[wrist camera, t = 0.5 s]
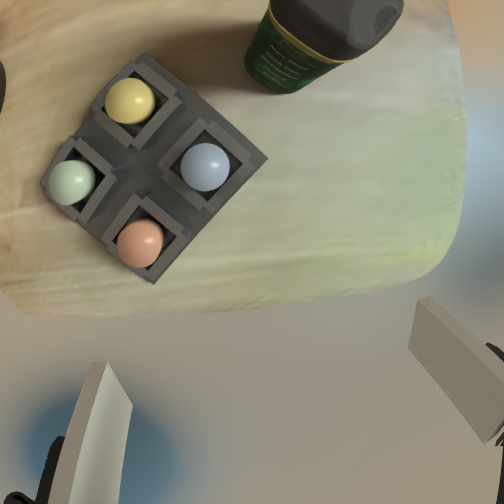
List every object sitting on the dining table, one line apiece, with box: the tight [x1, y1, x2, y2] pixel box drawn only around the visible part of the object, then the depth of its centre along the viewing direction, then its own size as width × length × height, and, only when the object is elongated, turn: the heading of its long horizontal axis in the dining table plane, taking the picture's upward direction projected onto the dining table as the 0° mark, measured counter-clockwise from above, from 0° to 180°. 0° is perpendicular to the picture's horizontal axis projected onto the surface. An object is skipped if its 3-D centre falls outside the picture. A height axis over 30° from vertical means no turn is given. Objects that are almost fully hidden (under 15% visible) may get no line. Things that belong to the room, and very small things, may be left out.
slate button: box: [181, 143, 229, 191], centre depth 27 cm, size 4×4×3 cm
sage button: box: [49, 159, 95, 205], centre depth 25 cm, size 4×4×3 cm
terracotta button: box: [117, 217, 164, 268], centre depth 29 cm, size 4×4×3 cm
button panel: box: [41, 52, 268, 285], centre depth 29 cm, size 19×20×4 cm
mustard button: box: [105, 78, 156, 125], centre depth 24 cm, size 4×4×3 cm
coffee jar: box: [245, 0, 404, 94], centre depth 19 cm, size 10×8×19 cm
